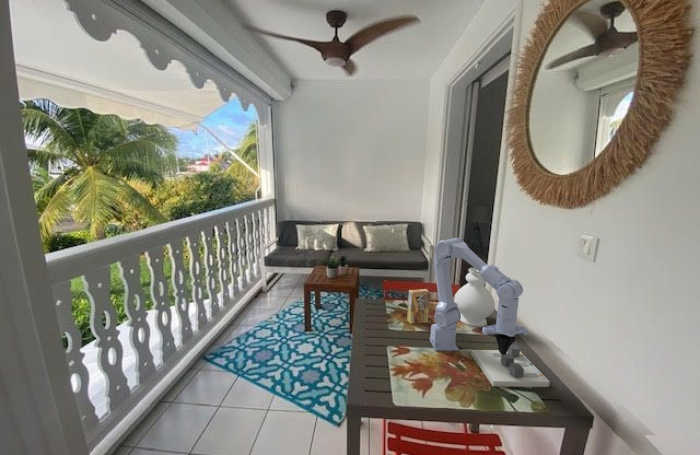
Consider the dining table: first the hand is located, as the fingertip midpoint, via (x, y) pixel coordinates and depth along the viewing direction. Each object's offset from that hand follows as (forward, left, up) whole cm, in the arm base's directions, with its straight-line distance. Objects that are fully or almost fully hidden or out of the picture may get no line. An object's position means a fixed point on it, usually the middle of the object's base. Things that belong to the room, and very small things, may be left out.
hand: (502, 352), depth 98 cm
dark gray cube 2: (+4, +3, -6) cm, 8 cm away
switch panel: (+4, +3, -8) cm, 10 cm away
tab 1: (+9, +9, -6) cm, 14 cm away
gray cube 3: (+4, -2, -6) cm, 8 cm away
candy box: (-20, +37, -9) cm, 43 cm away
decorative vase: (+7, +39, -9) cm, 40 cm away
